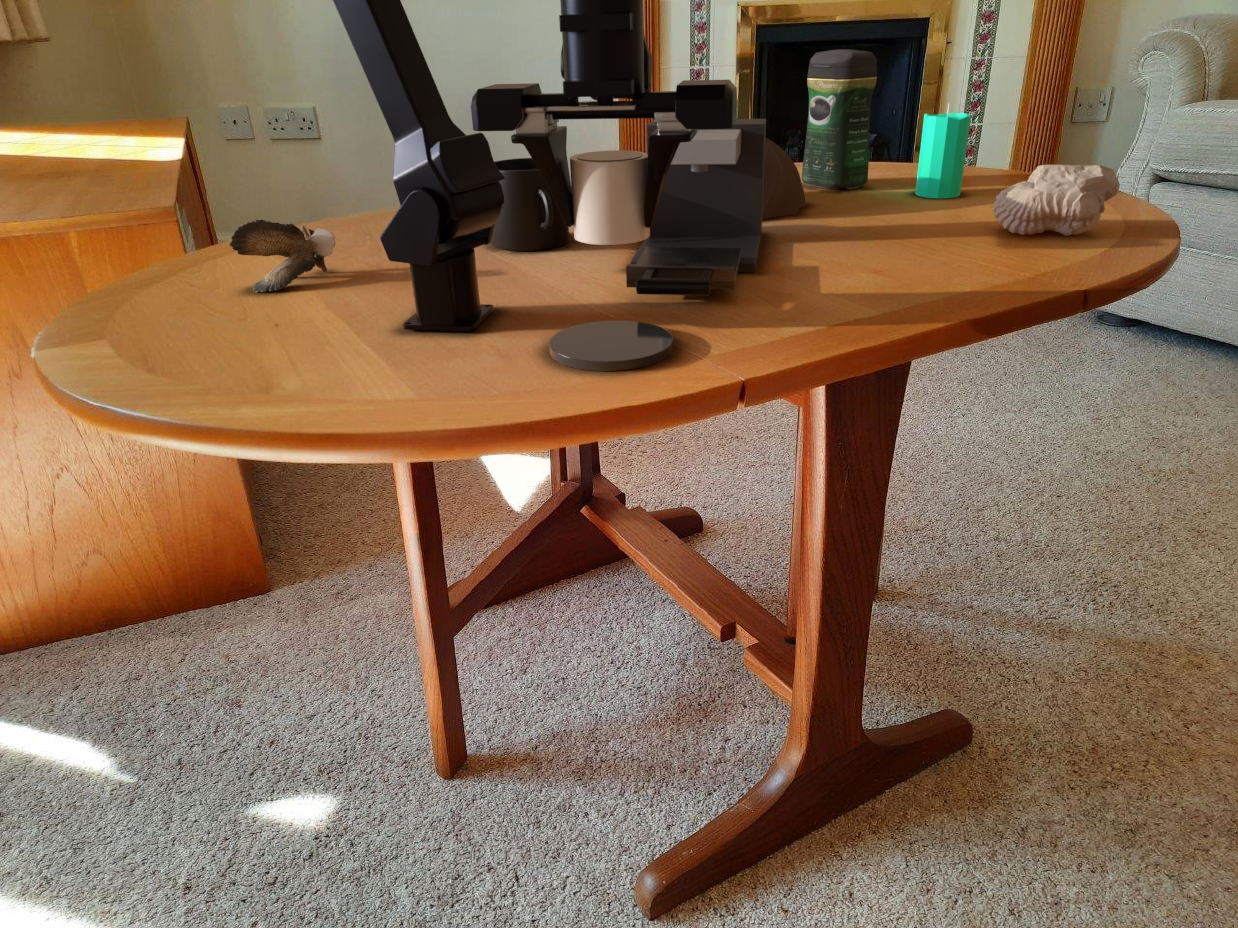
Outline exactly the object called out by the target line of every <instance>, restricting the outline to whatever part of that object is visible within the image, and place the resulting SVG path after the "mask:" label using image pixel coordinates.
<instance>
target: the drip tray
mask: <svg viewBox="0 0 1238 928" xmlns="http://www.w3.org/2000/svg"><path fill="white" fill-rule="evenodd" d="M741 256H742V248H684V247H646V249H645V251H644V252H643V254H642V255H641V257H640V259H639V260H638V262H637V263H636V264H630V263H628V264H626V266H625V276H626V277H625V279H626V281H625V284H626V288H635V289H636V291H635V293H636V294H637V295H658V296H659V295H661V296H665V295H666V296H667V295H668V296H710V295H711V290H734V289H735V285H736V281H737V276H738V273H739V272H738V269H739V264H740V260H741Z"/></svg>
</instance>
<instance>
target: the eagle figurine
mask: <svg viewBox="0 0 1238 928" xmlns="http://www.w3.org/2000/svg"><path fill="white" fill-rule="evenodd" d="M230 238H231V241H230V242H229V243H228V244H229V246H230V247H232V251H235V252H236V251H237V255H241V256H257V257H271V256H280V257H284V261H282V262H280V263H279V264H277V265H276V266H275V267H273V268H271V269H270V271H268V272H267V274H266V275H265V276H264V277H263V278H261V279H260V280H258V281H257V282H255V283H254V284H253V286H252V292H254V293H265V292H268V291H269V293H270V292H271V293H272V292H274V291H278V290H281V289H283V288H285V287H287V286H288V285H290V284H292V282H293V281H295V280H296V279H297V278H298V277H299V276H301V275H303V274H304V273H308V272H311V271H312V270H313V269H314V268H315V267H316V268H319V270H321V272H323V273H328V269H327V266H326V263H325V258H326V257H329V256H331V255H332V254H333V251H334V248H335V246H336V236H335V234H334V233H333V232H332V231H330V230H329V229H327V228H325V227H318V228H316V229H315V230H313V229H311V228H308V229H307V228H306V227H305V226H304V225H302V226H301V228H299V227H298V226H296V225H295V224H293V223H279V222H271V221H270V220H269V221H266V220H264V219H255V221H254V220H251V221H250V222H246V223H244V224H242V225H241V226H238V227H237V229H236V230H234V231H233V234H232V235H231V237H230Z"/></svg>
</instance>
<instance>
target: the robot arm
mask: <svg viewBox="0 0 1238 928" xmlns="http://www.w3.org/2000/svg"><path fill="white" fill-rule="evenodd" d="M332 2H333V4H334V7H335V8H336V11H337V13H338V15H339V18H340V20H341V22H342V24H343V27H344V29H345V31H346V33H347V36H348V38H349V40H350V43H351V45H352V47H353V50H354V52H355V54H356V56H357V59H358V61H359V63H360V65H361V69H362V70H363V72H364V75H365V77H366V79H367V82H368V84H369V86H370V89H371V90H372V93H373V96H374V97H375V100H376V102H377V104H378V107H379V109H380V111H381V113H382V115H383V118H384V120H385V122H386V125H387V127H388V130H389V131H390V134H391V136H392V138H393V142H394V153H393V169H392V182H393V186H394V189H395V192H396V195H397V197H398V198H397V199H398V202H399V205H400V206H399V208H397V211H396V213H394V215H393V217H392V219H391V220H390V221H389V223H388V224H387V226H386V227H385V228H384V230H383V231H382V233H381V235H380V242H381V245H382V247H383V249H384V251H385V254H386V257H387V259H388V261H390V262H395V263H402V264H403V263H404V264H409V270H410V277H411V284H412V292H413V299H414V307H415V313H413V314H412V315H411V316H410V317H409V318H408V319H407V320H405V321H404V322H403V323H402V327H403V328H402V329H403V330H406V331H407V330H409V331H440V332H441V331H442V332H443V331H444V332H445V331H447V332H472V331H474V330H476V329H477V328H478V326H479V325H481V324H482V323H483V322H484V320H485V319H486V318H487V317H488V316H490V315H491V313H493V312H494V310H495V309H494V305H493V304H485V303H483V304H482V303H481V298H480V290H479V289H480V288H479V280H478V271H477V262H476V253H475V249H476V248H479V247H482V246H487V245H490V244H492V243H491V239H492V235H493V230H494V225H495V222H496V221H497V219H498V218H499V216H500V212H501V208H502V205H503V204H504V194H503V190H502V187H501V184H500V182H499V181H501V180H504V176H503V174H502V173H501V172H500V171H499V170H498V168H497V166H496V164H495V161H494V158H493V154H492V150H491V148H490V143H489V141H488V139H487V138H486V135H485V134H484V133H483V132H514V134H512V135H510V140H511V143H512V144H513V145H514V144H516V145H519V144H521V145H523V146H524V147H525V149H526V151H527V152H528V154H529V156H530V158H532V159H533V161H534V162H535V164H536V166H537V167H538V169H539V171H540V172H541V174H542V176H543V178H544V180H545V182H546V184H547V186H548V188H549V190H550V192H551V194H552V197H553V199H554V201H555V203H556V205H557V208H558V210H559V212H560V214H561V216H562V218H563V221H564V223H565V225H566V227H569V228H572V227H573V208H572V190H571V173H570V166H569V162H568V154H567V153H568V152H567V140H568V139H567V134H568V126H566V125H558V123H559V121H560V120H621V119H623V120H624V119H625V120H627V119H628V120H629V119H653V120H654V123H657V129H656V130H655V131H653V132H652V133H651V134H650V135H649V144H648V159H647V174H646V188H645V203H644V215H645V227H646V228H650V227H651V226H652V224H653V220H654V217H655V213H656V210H657V207H658V203H659V200H660V196H661V193H662V189H663V186H664V183H665V179H666V176H667V173H668V170H669V167H670V165H671V162H672V160H673V158H674V155H675V153H676V151H677V149H678V146H679V144H680V142H690V141H691V140H692V139H693V138H694V136H695V135H696V134H697V129H725V128H732V127H733V125H734V123H735V121H736V119H737V112H738V111H737V107H738V88H737V87H736V85H735V84H734V83H733V82H732V80H730V79H689V80H688V79H687V80H682V81H681V82H679V83H677V84H676V87H675V88H676V89H675V90H666V91H665V90H659V91H652V79H653V55H652V52H651V50H650V47H649V45H648V42H647V39H646V36H645V34H644V0H560V2H559V3H560V14H559V15H558V20H559V21H558V22H559V32H560V33H561V38H562V45H561V51H560V75H561V77H562V79H563V81H562V92H557V93H556V92H555V93H554V92H551V93H550V92H549V93H546V92H545V93H542V89H541V87H540V86H541V85H540V83H539V82H535V83H495V84H492V85H488V86H484V87H481V88H477V90H476V91H475V93H474V94H473V96H472V98H471V104H470V113H471V121H472V123H471V125H472V131H474V132H475V133H471V134H466V133H465V132H464V131H463V130H462V129H460V127H459V126H457V125H456V123H454V121H453V120H452V118H451V117H450V115H449V113H448V110H447V108H446V105H445V103H444V101H443V98H442V95H441V94H440V91H439V88H438V86H437V84H436V81H435V79H434V77H433V74H432V72H431V70H430V67H429V65H428V63H427V60H426V58H425V56H424V53H423V51H422V49H421V46H420V43H419V42H418V41H419V40H418V39H417V37H416V36H417V35H416V34H415V31H414V29H413V26H412V24H411V22H410V20H409V18H408V17H409V16H408V15H407V12H406V10H405V8H404V5H403V3H402V1H401V0H332ZM579 98H591V99H592V100H589V101H587V100H586V101H585V100H584V101H579ZM617 99H625V100H617Z"/></svg>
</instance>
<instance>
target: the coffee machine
mask: <svg viewBox="0 0 1238 928" xmlns="http://www.w3.org/2000/svg"><path fill="white" fill-rule="evenodd" d="M656 129H657V123H654V119H653V120H652V121H650V122H649V123H648V124H647V125H646V153H647V154H648V144H649V135H650V134H651V133H652V132H653V131H655V130H656ZM766 136H767V118H736V121H735V123H734V125H733V127H732V128H725V129H697V134H696V135H695V136H694V138H693V139H692V140H691V141H690V142H680V144H679V146H678V149H677V151H676V153H675V155H674V158H673V160H672V162H671V165H670V167H669V170H668V173H667V176H666V179H665V183H664V186H663V189H662V193H661V196H660V200H659V203H658V207H657V210H656V213H655V217H654V220H653V224H652V226H651V227H650V237H649V238H647V239H645V240H643V242H642V243H641V245H640V246H639V248H638V250H637V251H636V253H634V256H633V257H632V259H631V261H630V263H629V264H636V263H637V262H638V260H639V259H640V257H641V255H642V254H643V252H644V251H645V249H646V247H684V248H742V256H741V260H740V264H739V269H738V273H751V274H752V273H753V274H755V273H756V269H757V263H758V257H759V251H760V246H761V239H762V235H763V234H762V233H763V220H762V212H763V187H764V162H765V138H767V137H766Z"/></svg>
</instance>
